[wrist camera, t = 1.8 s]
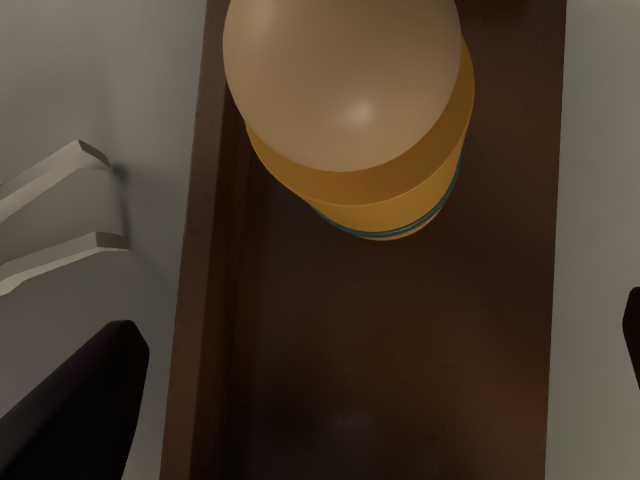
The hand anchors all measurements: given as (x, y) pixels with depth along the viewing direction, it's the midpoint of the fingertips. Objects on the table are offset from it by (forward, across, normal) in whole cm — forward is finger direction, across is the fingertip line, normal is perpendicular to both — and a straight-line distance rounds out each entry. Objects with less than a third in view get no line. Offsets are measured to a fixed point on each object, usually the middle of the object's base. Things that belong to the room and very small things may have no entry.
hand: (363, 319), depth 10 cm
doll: (+10, 0, +3) cm, 10 cm away
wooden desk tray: (+10, 0, +7) cm, 12 cm away
